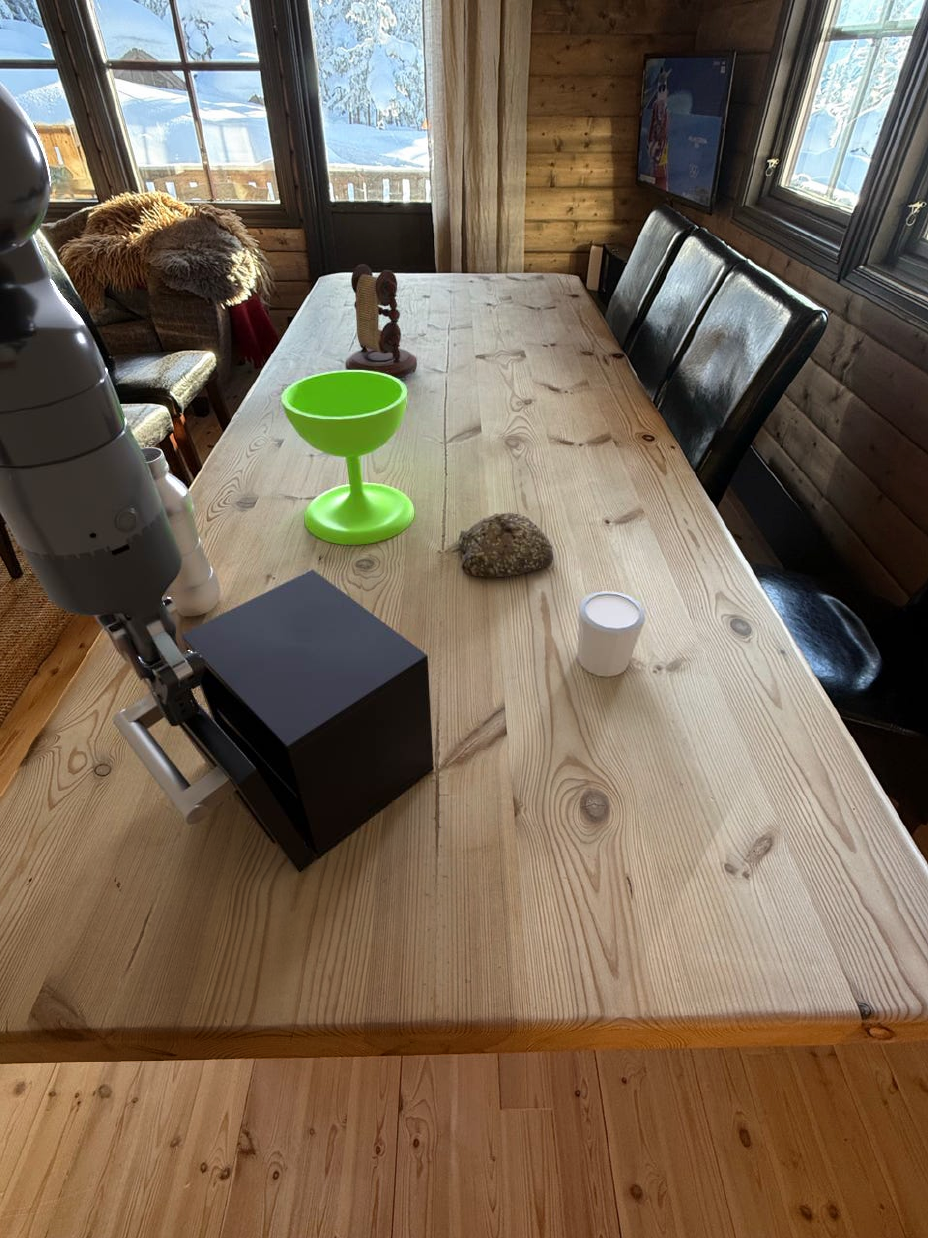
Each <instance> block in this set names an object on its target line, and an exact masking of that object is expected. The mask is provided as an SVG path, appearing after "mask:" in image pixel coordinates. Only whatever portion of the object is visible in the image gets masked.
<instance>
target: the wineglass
mask: <svg viewBox="0 0 928 1238" xmlns="http://www.w3.org/2000/svg"><path fill="white" fill-rule="evenodd" d="M407 402H408V389H407V385H406V383H404V382H403V380H402V381H401V379H399V378H398V377H397V378H395V377H393V376H391V375H388V374H384V373H380V372H374V371H366V370H346V369H342V370H332V371H326V372H321V373H316V374H313V375H308V376H307V377H303V378H301V379H299V380H296V381H294V382H293V383H291V384H290V385H288V386H287V387H286V388H285V389H284V390H283V392H282V394H281V404H282V407H283V410H284V413H285V416H286V418H287V420H288V421H289V423H290V424H291V426H292V427H293V429H294V430H295V432H296V433H297V434H298V436H299V437H300V438H301V439H303V440H304V441H305V442H306V443H307V444H309V446H310V447H313V448H315V449H316V450H317V451H320V452H323V453H326V454H328V455H331V456H334V457H339V458H345V461H346V468H347V478H348V483H347V484H343V485H339V486H336V487H333V488H331V489H328V490H326V491H324V492H322V493H321V494H319V495H318V496H316V497H315V498H314V499H313V500H312V501H311V502H310V503H309V504H308V505H307V507H306V511H305V513H304V517H303V518H304V525H305V528H307V530H308V532H310V533H311V534H312V535H313V536H315V537H316V538H318V539H320V540H323V541H325V542H328V543H331V544H332V543H333V544H338V545H344V546H346V545H347V546H359V545H360V546H362V545H369V544H376V543H378V542H382V541H386V540H388V539H390V538H393V537H394V536H397V535H400V533H402V532H403V531H404V530H405V529H407V528H409V526H410V525H411V523H412V522H413V520H414V517H415V513H416V512H415V508H414V504H413V501H411V499H410V498H409V497H408V495H406V493H404V492H402V491H400V490H399V489H397V488H395V487H392V486H389V485H386V484H381V483H375V482H363V481H364V480H363V472H362V463H361V456H366V455H368V454H371V453H373V452H374V451H376V450H378V449H379V448H380V447H382V446H383V445H386V443H388V442H389V441H390V440H391V439H392V437H393V436H394V434H395V433H396V432H397V431H398V429H399V428H400V426H401V424H402V421H403V418H404V415H405V412H406V409H407V405H408V404H407Z"/></svg>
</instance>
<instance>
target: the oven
mask: <svg viewBox="0 0 928 1238" xmlns="http://www.w3.org/2000/svg"><path fill="white" fill-rule="evenodd" d="M182 636H183V638H184V641H185V643H186V646H187V649H188V650H190V651H191V652H192V653H193V652H196V653H197V654H198V655H199V656H202V658H203V659H204V662H205V663H204V665H205V668H206V669H205V672H204V675H203V678H202V681H201V683H200V686H199V690H200V691H201V694H202V697H203V699H204V702H205V705H206V708H207V710H208V712H209V715H210V717H211V718H212V719H213V720H214V721H215V722H216V723H217V724H218V726H219V727H220V728H221V729H222V730H223V731H224V732H225V734H226V735H227V736H228V737H229V738H230V739H231V740H232V741H233V743H234V744H235V745H236V746H237V747H238V748H239V749H240V751H241V752H242V753H243V754H244V755H245V756H246V757H247V758H248V760H249V761H250V762H251V763H252V764H253V765H254V766H255V767H256V769H257V770H258V772H259V773H260V775H261V776H262V778H263V779H264V781H265V783H266V784H267V786H268V787H269V789H270V790H271V792H272V793H273V795H274V796H275V798H276V800H277V801H278V803H279V804H280V806H281V807H282V809H283V810H284V812H285V814H286V815H287V817H288V818H289V820H290V821H291V823H292V824H293V826H294V827H295V829H296V831H297V832H298V834H299V835H300V837H301V838H302V840H303V841H304V843H305V845H306V846H307V848H308V849H309V851H310V852H311V853H313V856H315V857H316V858H317V859H318V860H320V859H321V858H322V857H324V856H325V855H326V854H327V853H329V852H330V851H331V850H333V849H334V848H335V847H337V846H338V845H339V844H340V843H341V842H343V841H344V840H346V839H347V838H348V837H349V836H351V835H352V834H353V833H355V831H357V830H359V829H360V828H361V827H362V826H364V825H365V824H366V823H368V822H369V821H370V820H371V819H373V818H374V817H375V816H377V815H378V814H379V813H381V811H383V810H384V809H386V808H387V807H389V805H390V804H392V803H393V802H394V801H396V800H397V799H398V798H400V797H401V796H402V795H403V794H405V793H406V792H407V791H408V790H410V789H411V788H412V787H414V786H415V785H416V784H418V783H419V782H420V781H422V780H423V779H424V778H426V777H427V776H428V775H429V774H431V773H432V772H433V771H434V769H435V768H434V767H435V766H434V749H433V748H434V747H433V729H432V709H431V693H430V691H431V689H430V674H429V671H430V670H429V656H428V654H426V653H425V652H424V651H422V650H421V649H420V648H419V647H418V646H416V645H414V643H412V642H410V641H409V640H408V639H406V638H405V637H404V636H403V635H401V634H400V633H398V632H397V631H396V630H394V629H393V628H392V627H390V625H388V624H386V623H385V622H384V621H382V620H381V619H380V618H378V617H377V616H376V615H375V614H373V613H372V612H370V611H369V610H368V609H367V608H366V607H364V606H363V605H362V604H360V603H359V602H357V601H356V600H354V598H352V597H351V596H349V595H347V594H346V593H345V592H344V591H342V590H341V589H340V588H339V587H337V586H336V585H335V584H333V583H332V582H331V581H329V580H328V579H327V578H326V577H324V576H322V575H321V574H319V572H317V571H316V570H314V569H313V568H312V569H310V570H308V571H306V572H304V573H302V574H300V575H298V576H296V577H294V578H292V579H289V580H288V581H286V582H284V583H282V584H280V585H278V586H276V587H274V588H271V589H270V590H268V591H265V592H264V593H261V594H260V595H257V596H255V597H253V598H252V599H250V600H248V601H245V602H243V603H241V604H239V605H237V606H235V607H234V608H231V609H229V610H227V611H225V612H224V613H221V614H219V615H217V616H216V617H214V618H211V619H209V620H207V621H205V622H204V623H201V624H199V625H197V626H196V627H193V628H191V629H189V630H187V631H185V632H183V633H182Z"/></svg>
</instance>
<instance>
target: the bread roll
mask: <svg viewBox="0 0 928 1238" xmlns="http://www.w3.org/2000/svg"><path fill="white" fill-rule="evenodd" d="M550 542H551V541H550V539H549V538H547V536H546V535H545V532H543V531H542V530H541V528H539V527H538V525H536V524H535V523H534V522H532V520H530V518H528V517H527V516H524V515H521V514H519V513H516V512H503V513H494V514H492V515H489V516H488V517H484V518H483V519H481V520H479V521H478V522H476V523H475V524H473V525H472V526H471V527H469V530H460V535H459V536H458V543H457V544H458V547H457V552H458V554H459V555H460V557H461V569H462V570H464V571H465V572H466V573H468V574H469V575H471V576H473V577H486V578H489V577H491V578H492V577H498V578H502V577H503V578H504V577H510V576H516V575H518V576H519V575H522V574H527V573H528V572H531V571H535V570H541V569H544V568H547V567H549V566H550V565H551V564H552V563H553V560H554V552H553V545H551V543H550Z"/></svg>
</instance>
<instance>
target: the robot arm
mask: <svg viewBox="0 0 928 1238" xmlns="http://www.w3.org/2000/svg"><path fill="white" fill-rule="evenodd" d="M40 139H41V138H40V137H39V135H38V133H37V131H36V129H35V127H34V125H33V123H32V122H31V120H30V118H29V116H28V114H27V113H26V112H25V110H24V109H23V107H22V105H21V104H20V103H19V102H18V100H17V99H16V97H15V96H14V95H13V94H12V93H11V92H10V90H9V89H8V88H7V87H6V86H5V85H4V83H3V82H2V81H1V80H0V514H1V516H2V518H3V520H4V522H5V523H6V525H7V527H8V528H9V530H10V532H11V534H12V535H13V538H14V539H15V541H16V543H17V545H18V546H19V549H20V550H21V552H22V554H23V556H24V557H25V559H26V560H27V562H28V565H29V566H30V568H31V569H32V572H33V573H34V575H35V576H36V578H37V580H38V582H39V583H40V585H41V587H42V589H43V591H44V592H45V594H46V596H47V598H48V599H49V601H50V602H51V603H52V604H53V605H54V606H56V607H57V608H59V609H61V610H62V611H64V612H67V613H70V614H74V615H78V616H93V618H94V620H95V622H96V623H97V624H98V625H99V626H100V628H101V629H102V630H104V632H106V633H107V635H108V637H109V638H110V641H111V642H112V644H113V646H114V648H115V651H116V652H117V653H118V655H119V656H120V657H121V658H122V659H123V660H124V661H125V662H126V663H127V664H128V666H129V667H130V668H131V670H132V671H133V673H134V674H135V675H136V676H137V678H138V679H139V681H142V682H143V683H144V684H146V686H147V690H148V691H149V694H150V693H151V694H152V696H153V698H154V700H155V702H156V704H157V706H158V708H159V710H160V712H161V714H162V715H163V716H164V719H165V720H166V721H167V723H168V724H169V725H170V726H171V727H179V725H180V724H182V723H183V722H185V721H187V720H188V719H190V718H192V717H194V716H195V715H196V714H197V713H198V712H199V706H198V704H197V702H198V701H197V699H196V698H195V695H194V693H193V690H194V689H196V688H198V687H200V683H201V681H202V678H203V675H204V672H205V669H206V668H205V665H204V663H205V662H204V659H203V658H202V656H199V655H198V654H197V653H196V652H193V653H192V652H191V651H190V650H188V649H187V646H186V643H185V641H184V638H183V636H182V634H183V633H182V630H181V628H180V624H181V615H180V614H179V613H178V611H177V608H176V606H175V604H174V603H173V601H172V600H171V599H170V598H169V597H166V598H163V595H164V594H165V592H166V590H167V589H168V587H169V586H170V585H171V584H172V583H173V581H174V580H175V579H176V577H177V575H178V574H179V571H180V569H181V565H182V556H181V552H180V549H179V546H178V544H177V541H176V538H175V536H174V533H173V530H172V528H171V525H170V522H169V520H168V517H167V514H166V511H165V509H164V506H163V503H162V501H161V498H160V496H159V493H158V490H157V488H156V485H155V482H154V479H153V477H152V474H151V471H150V468H149V466H148V463H147V461H146V459H145V456H144V454H143V452H142V450H141V446H140V445H139V443H138V441H137V439H136V437H135V436H134V434H133V432H132V430H131V428H130V426H129V423H128V421H127V419H126V417H125V413H124V410H123V408H122V406H121V403H120V400H119V397H118V394H117V391H116V389H115V387H114V384H113V381H112V378H111V376H110V373H109V371H108V368H107V366H106V363H105V361H104V358H103V356H102V353H101V352H100V349H99V347H98V345H97V343H96V341H95V338H94V336H93V335H92V332H91V331H90V329H89V328H88V325H87V324H86V323H85V321H84V320H83V319H82V317H81V316H80V315H79V314H78V312H77V311H75V309H74V308H73V307H72V306H71V305H70V303H68V301H67V300H66V299H65V298H64V296H63V295H62V294H61V293H60V291H59V290H58V287H57V286H56V284H55V282H54V280H53V278H52V277H51V273H50V271H49V268H48V266H47V265H46V262H45V260H44V257H43V255H42V252H41V251H40V248H39V246H38V243H37V241H36V239H35V236H34V235H36V233H37V231H38V230H39V229H40V227H41V226H42V224H43V222H44V220H45V218H46V215H47V213H48V210H49V205H50V201H51V200H50V199H51V176H50V168H49V164H48V160H47V156H46V153H45V149H44V147H43V144H42V141H41V140H40ZM196 701H197V702H196Z"/></svg>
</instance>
